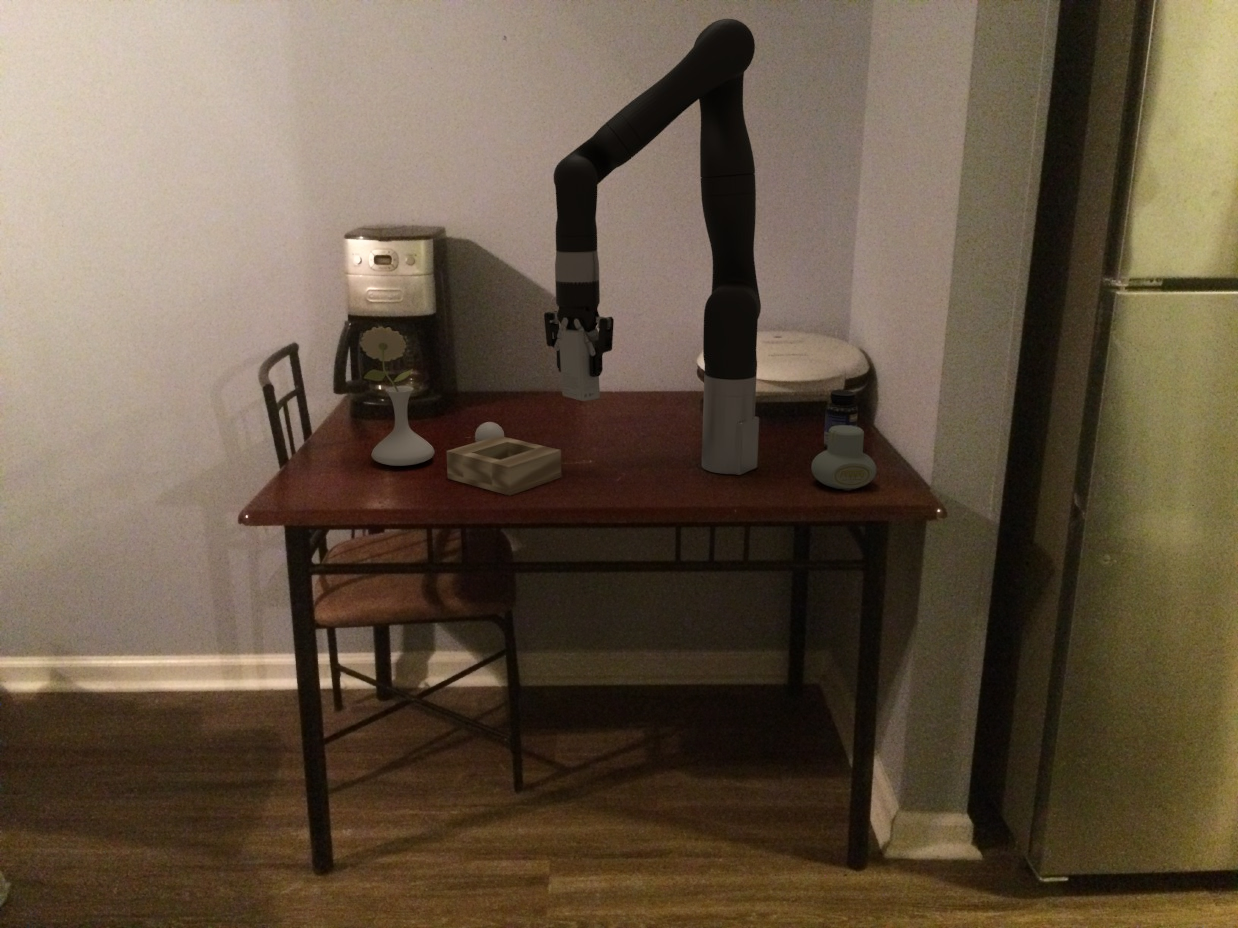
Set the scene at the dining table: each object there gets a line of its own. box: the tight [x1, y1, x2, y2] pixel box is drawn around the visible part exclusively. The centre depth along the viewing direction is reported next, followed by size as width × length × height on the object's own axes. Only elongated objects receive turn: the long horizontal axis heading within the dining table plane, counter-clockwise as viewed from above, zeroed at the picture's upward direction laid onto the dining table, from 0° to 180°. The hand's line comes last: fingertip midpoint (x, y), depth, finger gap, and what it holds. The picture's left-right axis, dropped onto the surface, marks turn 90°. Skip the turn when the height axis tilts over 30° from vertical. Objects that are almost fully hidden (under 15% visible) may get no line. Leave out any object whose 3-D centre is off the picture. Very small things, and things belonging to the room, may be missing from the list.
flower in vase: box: [359, 326, 436, 467], centre depth 184 cm, size 13×11×25 cm
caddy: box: [446, 436, 562, 496], centre depth 178 cm, size 15×13×5 cm
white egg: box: [466, 421, 505, 443], centre depth 195 cm, size 8×6×6 cm
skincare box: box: [559, 328, 601, 402], centre depth 178 cm, size 6×4×12 cm
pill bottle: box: [823, 389, 859, 449], centre depth 197 cm, size 6×6×11 cm
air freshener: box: [811, 425, 877, 491], centre depth 175 cm, size 11×8×10 cm
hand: (579, 373), depth 179 cm, fingers closed on skincare box, 6 cm apart
